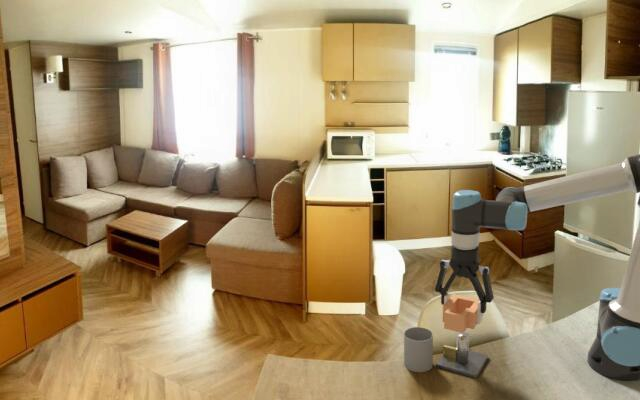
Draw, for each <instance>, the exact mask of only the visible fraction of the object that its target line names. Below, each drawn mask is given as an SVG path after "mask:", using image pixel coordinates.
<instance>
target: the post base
mask: <svg viewBox="0 0 640 400" xmlns="http://www.w3.org/2000/svg"><path fill="white" fill-rule="evenodd" d="M469 346H470V335H469V333H467V332H466V331H465V332H464V333H460V332H457V333H456V346H454V345H446V344H444V345H443V346H442V355H441V356H440V358H439V359H438V360H437V362H436V363H435V368H437V369H442V370H444V371H450V372H453V373H456V374H460V375H463V376H467V377H469V378H470V377H472V378H474V379H477V377H478V376H479V374H480V372H482V369H483V368H484V366H485V364H486V362H487V361H488V360H489V354H486V353H481V352H479V351H473V350H470V349H469V348H470V347H469Z"/></svg>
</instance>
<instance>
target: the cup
mask: <svg viewBox="0 0 640 400" xmlns="http://www.w3.org/2000/svg"><path fill="white" fill-rule="evenodd" d="M433 361H434V333H433V332H432V330H430V329H428V328H426V327H421V326H416V327H415V326H413V327H409V328H407V329H406V330H404V332H403V363H404V364H403V366H404V367H405V368H406V369H407V370H409V371H411V372H415V373H425V372H428V371H430V370H431V369H432V368H433V365H434V362H433Z"/></svg>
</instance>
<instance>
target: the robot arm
mask: <svg viewBox="0 0 640 400" xmlns="http://www.w3.org/2000/svg"><path fill="white" fill-rule="evenodd" d="M624 192H632V193H634V194H640V153H639V154H636V155H632V156H628V157H625V159H624V160H623V161H622V162H618V163H616V164H612V165H607V166H603V167H599V168H596V169H595V168H594V169H591V170H587V171H581V172H578V173H573V174H570V175H566V176H561V177H558V178H553V179H549V180H545V181H540V182H535V183H531V184H528V185H523V186H520V187H515V186H513V187H512V186H510V187H505V188H504V189H502V190H501V191H500V192H498V194H497V196H496V197H495V200H494V199H493V200H492V199H491V200H488V199H483V198H482V195H481V193H480V191H478V190H472V189H460V190H457V191H456V192H455V193H454V194H453V196H452V206H451V240H450V241H451V242H450V243H451V249H450V260H447V259H446V258H443V259H441V261H440V262H439V267H440V268H439V274H438V276H437V280H436V284H435V288H434V291H435V292H436V293H439V294H440V295H441V297H440V299H441V300H440V303H441V305H442V306H443V305H444V304H445V303H446V302H447V301H448V300H449V299H450V297H451V293H450V292H448V291H449V290H450V288H451V287H452V285H453V283H454V282H455V280H456V278H457V277H459V278H462V277H463V278H465V279H468V280H469V282H470V283H471V284H472V286H473V289H474V291H475V293H476V295H477V298H478V299H479V300H480V301H479V302H478V307H477V325H480V324H481V323H482V321H483V316H484V314H485V313H486V312H487V303H492V302H493V300H494V297H495V296H494V293H493V288H492V283H491V277H490V271H491V268H490V266H488V265H487V266H483V265H481V264H480V262H479V257H480V256H479V255H480V247H479V245H480V233H481V232H480V231H481V229H480V228H489V229H498V230H507V231H523V230H525V229H526V227H527V222H528V213H532V212H535V211H541V210H545V209H549V208H553V207H558V206H564V205H568V204H573V203H578V202H582V201H587V200H591V199H592V200H593V199H597V198H601V197H606V196H607V197H608V196H610V195H611V196H612V195H615V194H619V193H624ZM637 206H638V208H639V209H640V195H639V197H638V201H637ZM449 266H450V267H451V269H452V273H451V275H450V276H449V278H448V280H447V282H446V283H445V285H444V286H443V284H444V281H445V278H446V277H445V276H446V273H447V269H448V268H449ZM478 271H479V272H480V275H482V276H481V278H482V282H483V283H482V284H483V286H482V284H481V282H480V280H479V275H478V274H477V272H478ZM483 287H484V288H483ZM598 299H599V307H598V317H597V327H596V336H595V339H594V341H593V342H592V344H591V346H590V348H589V350H588V352H587V359H586V360H587V363H588V366H589V367H590V368H591V369H593V370H594V371H596V372H597V373H599V374H601V375H603V376H605V377H608V378H611V379H615V380H619V381H636V380H640V221H639V223H638V227H637V229H636V233H635V236H634V240H633V244H632V248H631V249H630V253H629V258H628V261H627V264H626V267H625V272H624V275H623V278H622V281H621V285H620V287H607V288H603V289H602V290H601V292H600V296H599V298H598ZM482 315H483V316H482Z"/></svg>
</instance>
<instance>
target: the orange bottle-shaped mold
mask: <svg viewBox="0 0 640 400" xmlns="http://www.w3.org/2000/svg"><path fill="white" fill-rule="evenodd" d="M479 301H480V300H479V298H478V299H477V298H476V297H475V298H473V297H469V296H465V295H459V294H456V293H453V294H452V295H450V299H449V300H448V301H447V302H446V303H445V304H444V305H442V322H443V324H444V325H443V328H444V329H445V330H448V331H454V332H457V333H459V332H460V333H464V332H465V333H466V330H467V329H471V330H474V329H475V328H476V326H478V324H477V307H478V302H479ZM483 316H484V314H483V315H482V317H483Z"/></svg>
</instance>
